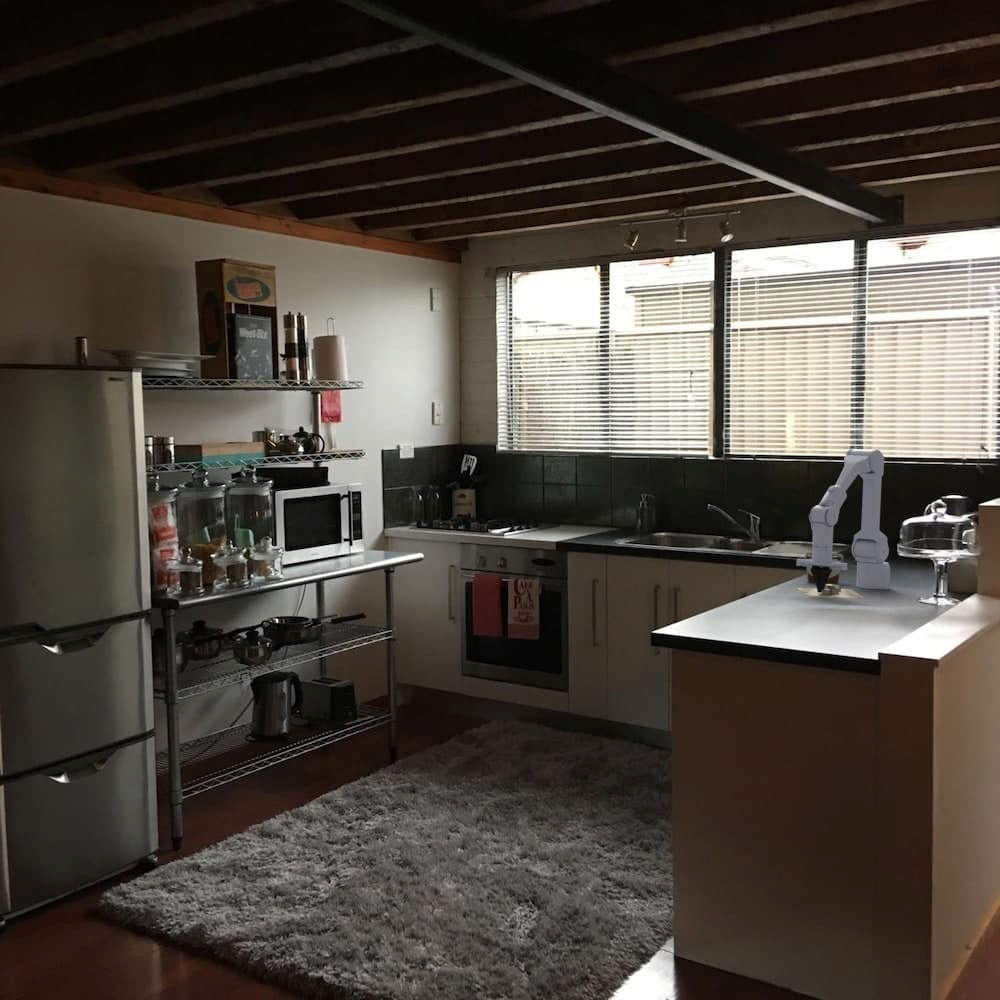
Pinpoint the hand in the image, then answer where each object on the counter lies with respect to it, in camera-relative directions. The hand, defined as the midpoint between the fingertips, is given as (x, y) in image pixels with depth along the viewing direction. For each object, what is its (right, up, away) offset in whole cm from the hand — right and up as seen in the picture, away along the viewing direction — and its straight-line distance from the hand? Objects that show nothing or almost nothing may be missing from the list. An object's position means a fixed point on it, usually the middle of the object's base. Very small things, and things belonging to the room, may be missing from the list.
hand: (820, 592), depth 319 cm
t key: (+4, 0, +3) cm, 5 cm away
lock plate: (+4, -1, +3) cm, 5 cm away
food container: (+8, 0, +26) cm, 27 cm away
